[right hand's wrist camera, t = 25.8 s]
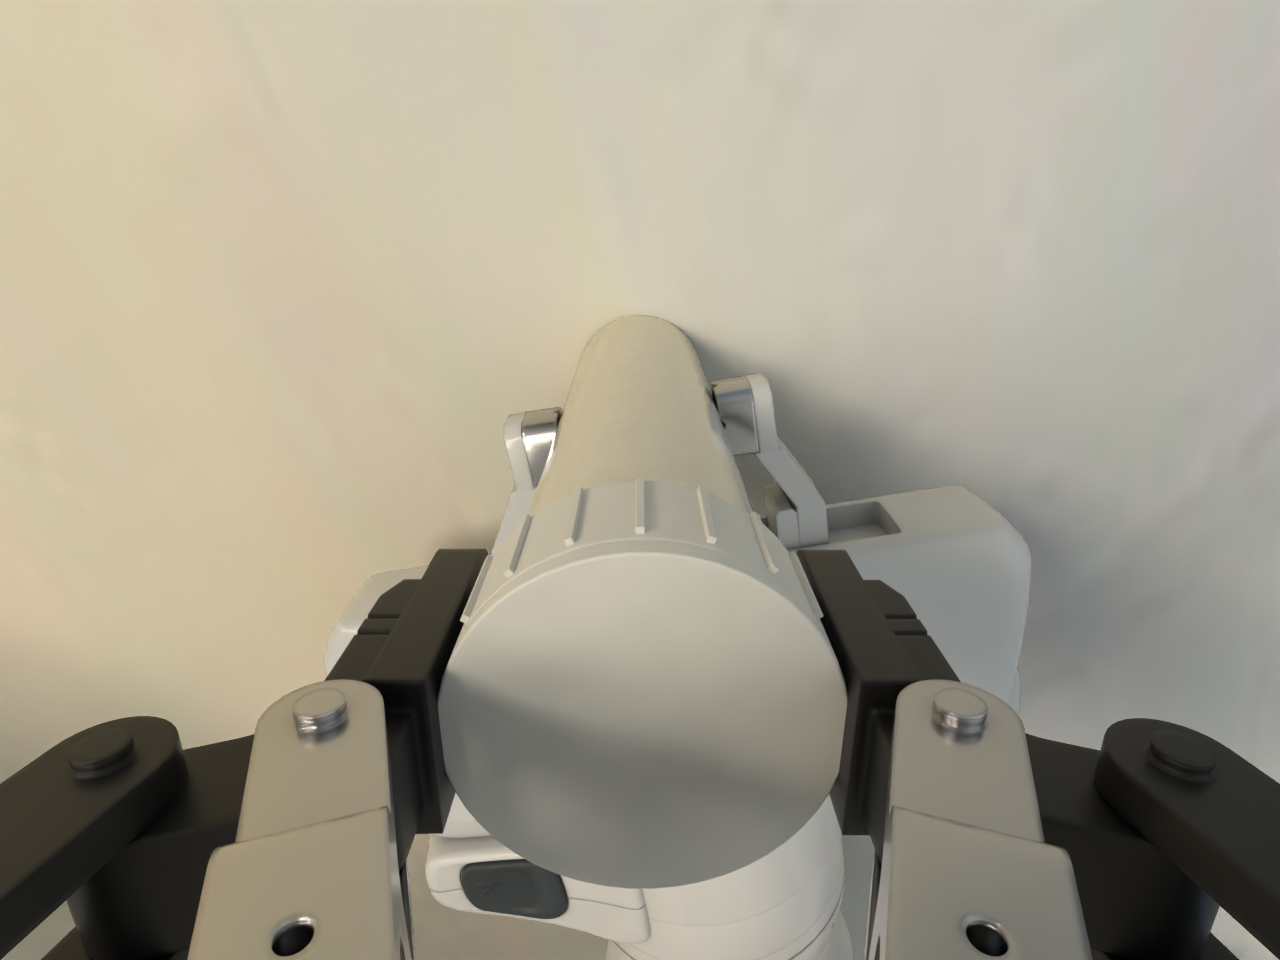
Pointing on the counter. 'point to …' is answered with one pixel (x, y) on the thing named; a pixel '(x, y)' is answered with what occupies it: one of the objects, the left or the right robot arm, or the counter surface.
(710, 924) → the left robot arm
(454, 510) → the counter surface
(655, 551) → the lid
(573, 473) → the beige canister
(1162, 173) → the counter surface
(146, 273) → the counter surface
